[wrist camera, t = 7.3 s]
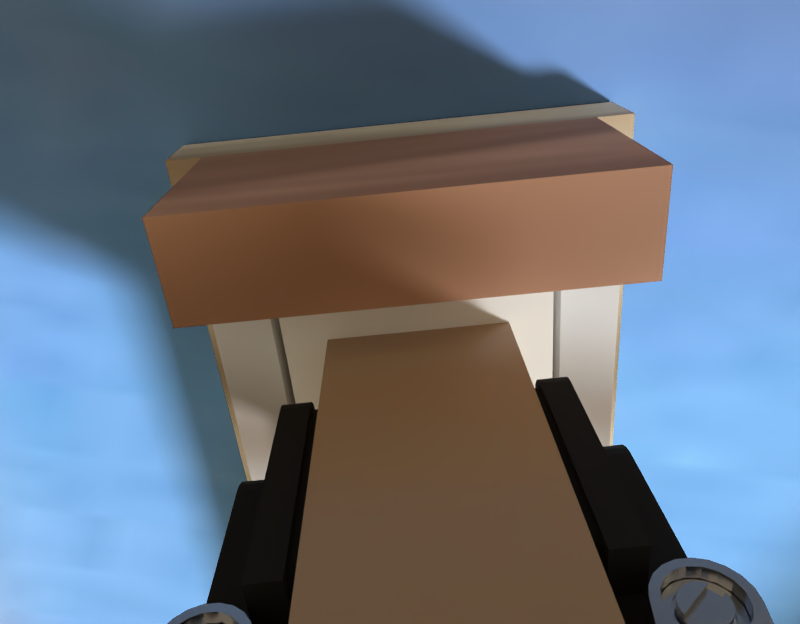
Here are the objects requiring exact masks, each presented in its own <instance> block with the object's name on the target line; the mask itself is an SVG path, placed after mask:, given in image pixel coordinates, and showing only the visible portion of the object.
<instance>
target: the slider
mask: <svg viewBox="0 0 800 624" xmlns="http://www.w3.org/2000/svg"><path fill="white" fill-rule="evenodd" d="M553 301H554V291H552V292H541V293H531V294H521V295H511V296H500V297H490V298H480V299H469V300H459V301H449V302H439V303H428V304H418V305H408V306H397V307H387V308H377V309H367V310H356V311H346V312H336V313H326V314H315V315H305V316H295V317H284V318H279V322H280V327H281V332H282V337H283V342H284V347H285V352H286V357H287V362H288V367H289V372H290V378H291V383H292V388H293V393H294V398H295V403H306V402H312V403H313V404H314V407H315V410H316V409H318V413H317V420H316V427H315V434H314V442H313V449H312V456H311V463H310V471H309V478H308V485H307V492H306V500H305V507H304V514H303V521H302V528H301V536H300V543H299V550H298V557H297V565H296V572H295V579H294V586H293V593H292V601H291V608H290V615H289V622H288V624H625V622H624V619H623V617H622V614H621V611H620V609H619V606H618V604H617V601H616V598H615V596H614V593H613V591H612V588H611V585H610V583H609V580H608V578H607V575H606V572H605V570H604V567H603V565H602V562H601V559H600V557H599V554H598V552H597V549H596V546H595V544H594V541H593V539H592V536H591V534H590V531H589V528H588V526H587V523H586V521H585V518H584V515H583V513H582V510H581V508H580V505H579V502H578V500H577V497H576V495H575V492H574V489H573V487H572V484H571V482H570V479H569V476H568V474H567V471H566V469H565V466H564V463H563V461H562V458H561V456H560V453H559V451H558V448H557V445H556V443H555V440H554V438H553V435H552V432H551V430H550V427H549V425H548V422H547V419H546V417H545V414H544V412H543V409H542V406H541V404H540V401H539V399H538V396H537V393H536V391H535V384H536V380H538V379H548V378H552V371H553Z"/></svg>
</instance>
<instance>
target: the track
mask: <svg viewBox="0 0 800 624" xmlns="http://www.w3.org/2000/svg"><path fill="white" fill-rule="evenodd" d="M634 117H635V113H633V112H631V111H629V110H627V109H625V108H623V107H621V106H619V105H617V104H616V103H614V102H604V103H594V104H584V105H574V106H565V107H555V108H545V109H535V110H525V111H515V112H505V113H496V114H486V115H476V116H466V117H456V118H446V119H436V120H426V121H417V122H407V123H397V124H387V125H377V126H367V127H357V128H348V129H338V130H328V131H318V132H308V133H298V134H288V135H278V136H269V137H259V138H249V139H239V140H229V141H219V142H209V143H200V144H190V145H183V146H182V147H181V148H180V149H178V150H177V151H176V152H175V153H174V154H173V155H171V156H170V157H169V158H168V159H167V160H165V163H166V167H167V170H168V174H169V178H170V182H171V186H172V188H171V189H170V190H169V191H168V192H167V193H166V194H165V195H164V196H163V197H162V198H161V199H160V200H159V201H158V202H157V203H156V204H155V205H154V206H153V207H152V208H151V209H150V210H149V211H148V212H147V213H146V214H145V215H144V216H143V217H142V219H143V222H144V226H145V229H146V233H147V236H148V240H149V243H150V247H151V250H152V254H153V258H154V261H155V265H156V268H157V272H158V275H159V279H160V282H161V286H162V289H163V293H164V296H165V300H166V303H167V307H168V310H169V314H170V317H171V321H172V325H173V328H182V327H192V326H202V325H207V326H208V330H209V334H210V338H211V342H212V346H213V350H214V354H215V358H216V361H217V365H218V369H219V373H220V377H221V381H222V385H223V389H224V393H225V397H226V400H227V404H228V408H229V412H230V416H231V420H232V424H233V428H234V432H235V436H236V439H237V443H238V447H239V451H240V455H241V459H242V463H243V467H244V471H245V475H246V478H247V481H256V480H264V479H265V474H266V470H267V466H268V461H269V457H270V452H271V448H272V443H273V439H274V435H275V430H276V426H277V421H278V417H279V412H280V408H281V406H282V405H286V404H296V403H295V398H294V393H293V388H292V383H291V378H290V372H289V367H288V362H287V357H286V352H285V347H284V342H283V337H282V332H281V327H280V322H279V318H284V317H295V316H305V315H315V314H326V313H336V312H346V311H356V310H367V309H377V308H387V307H397V306H408V305H418V304H428V303H439V302H449V301H459V300H469V299H480V298H490V297H500V296H511V295H521V294H531V293H541V292H552V291H554V301H553V371H552V378H558V377H568V378H569V379H570V381H571V383H572V385H573V387H574V389H575V391H576V393H577V395H578V397H579V399H580V401H581V403H582V405H583V407H584V409H585V411H586V413H587V415H588V417H589V419H590V421H591V423H592V426H593V428H594V430H595V432H596V434H597V436H598V438H599V440H600V442H601V444H602V446H613V431H614V416H615V401H616V386H617V371H618V356H619V341H620V326H621V311H622V296H623V285H624V284H634V283H644V282H654V281H662V274H663V264H664V253H665V243H666V233H667V222H668V212H669V201H670V191H671V180H672V170H673V164H671V163H670V162H668V161H666V160H665V159H663V158H661V157H660V156H658V155H657V154H655V153H653V152H652V151H650V150H649V149H647V148H645V147H644V146H642V145H641V144H639V143H637V142H636V141H634V140H633V132H634Z"/></svg>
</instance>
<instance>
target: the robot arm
mask: <svg viewBox="0 0 800 624" xmlns="http://www.w3.org/2000/svg"><path fill="white" fill-rule="evenodd" d="M535 391H536V393H537V396H538V399H539V401H540V404H541V406H542V409H543V412H544V414H545V417H546V419H547V422H548V425H549V427H550V430H551V432H552V435H553V438H554V440H555V443H556V445H557V448H558V451H559V453H560V456H561V458H562V461H563V463H564V466H565V469H566V471H567V474H568V476H569V479H570V482H571V484H572V487H573V489H574V492H575V495H576V497H577V500H578V502H579V505H580V508H581V510H582V513H583V515H584V518H585V521H586V523H587V526H588V528H589V531H590V534H591V536H592V539H593V541H594V544H595V546H596V549H597V552H598V554H599V557H600V559H601V562H602V565H603V567H604V570H605V572H606V575H607V578H608V580H609V583H610V585H611V588H612V591H613V593H614V596H615V598H616V601H617V604H618V606H619V609H620V611H621V614H622V617H623V619H624V622H625V624H774V623H773V621H772V619H771V617H770V614H769V612H768V610H767V608H766V605H765V603H764V601H763V600H762V598H761V596H760V595H759V593H758V592H757V590H756V589H755V587H754V586H752V585H751V584H750V583H749V582H748V581H747V580H746V579H745V578H744V577H743V576H742V575H740V574H738V573H737V572H735V571H733V570H731V569H730V568H728V567H726V566H724V565H721V564H718V563H716V562H713V561H710V560H705V559H698V558H687V556H686V554H685V552H684V551H683V549H682V547H681V545H680V543H679V541H678V540H677V538H676V536H675V534H674V532H673V530H672V529H671V527H670V525H669V523H668V521H667V519H666V518H665V516H664V514H663V512H662V510H661V508H660V506H659V505H658V503H657V501H656V499H655V497H654V495H653V494H652V492H651V490H650V488H649V486H648V484H647V483H646V481H645V479H644V477H643V475H642V473H641V472H640V470H639V468H638V466H637V464H636V462H635V461H634V459H633V457H632V455H631V453H630V452H629V450H628V449H627V447H626V446H624V445H614V446H602V444H601V442H600V440H599V438H598V436H597V434H596V432H595V430H594V428H593V426H592V423H591V421H590V419H589V417H588V415H587V413H586V411H585V409H584V407H583V405H582V403H581V401H580V399H579V397H578V395H577V393H576V391H575V389H574V387H573V385H572V383H571V381H570V379H569V378H568V377H558V378H548V379H538V380H536V384H535ZM317 413H318V409H316V410H315V407H314V404H313V403H312V402H306V403H296V404H286V405H282V406H281V408H280V412H279V417H278V421H277V426H276V430H275V435H274V439H273V443H272V448H271V452H270V457H269V461H268V466H267V470H266V474H265V479H264V480H256V481H245V482H242V483H241V484H240V485H239V488H238V491H237V494H236V498H235V501H234V505H233V508H232V512H231V516H230V519H229V523H228V527H227V530H226V534H225V538H224V541H223V545H222V549H221V552H220V556H219V560H218V563H217V567H216V571H215V574H214V578H213V582H212V585H211V589H210V592H209V596H208V600H207V603H206V604H203V605H200V606H197V607H194V608H191V609H188V610H186V611H185V612H183V613H181V614H180V615H178V616H176V617H175V618H173V619H172V620H171V621H170V622H169V623H168V624H288V622H289V615H290V608H291V601H292V593H293V586H294V579H295V572H296V565H297V557H298V550H299V543H300V536H301V528H302V521H303V514H304V507H305V500H306V492H307V485H308V478H309V471H310V463H311V456H312V449H313V442H314V434H315V427H316V420H317Z"/></svg>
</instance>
